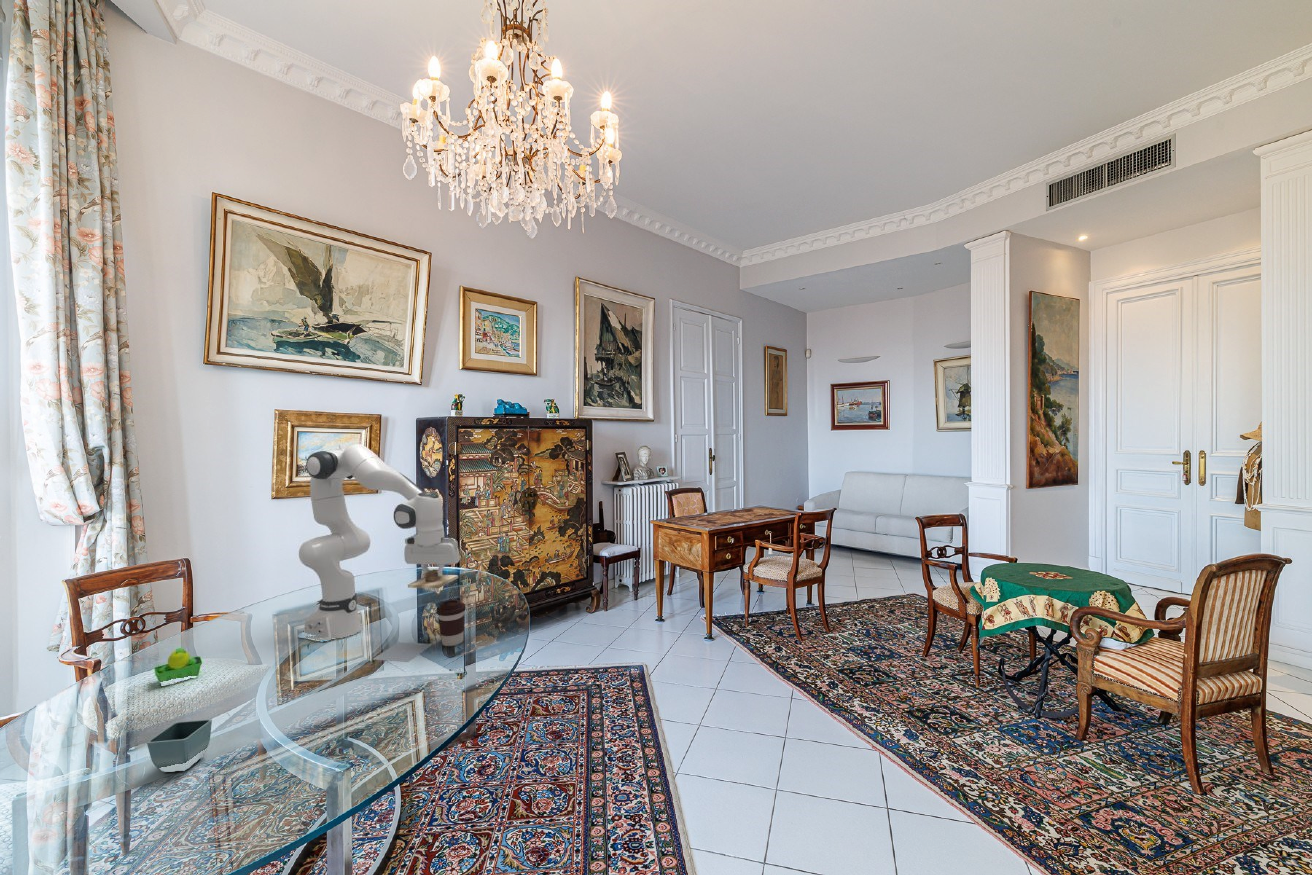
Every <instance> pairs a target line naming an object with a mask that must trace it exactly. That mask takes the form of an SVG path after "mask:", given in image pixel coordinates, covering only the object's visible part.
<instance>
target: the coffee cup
mask: <svg viewBox="0 0 1312 875" xmlns="http://www.w3.org/2000/svg"><path fill="white" fill-rule="evenodd" d="M466 609H467V608H466V604H465V603H464V602H462V601H461V600H459V599H450V600H446V601H443V602H441V603H440V605H439V606H437V607H436V609H435V610H436V615H438V628H439V634H440V638H441V644H442V646H445V647H453V646H456V645H460V644H461V643H463V642H464V632H465V611H466Z"/></svg>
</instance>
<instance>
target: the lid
mask: <svg viewBox="0 0 1312 875" xmlns="http://www.w3.org/2000/svg"><path fill="white" fill-rule="evenodd" d="M436 571H438V569H432V570H431V571H429V572H427V573H424V576H423V577H421V578H419V579H417V580H415V581H413V582H409V584H407V588H408V589H409V588H410V589H411V588H413V589H441V588H442V587H444V586H446V585H448V584H450V583H451V582H453V581H456V580H457V579H459V575H458V574H457V575H456V574H442V576H440V577H439V576H436V574H435V572H436Z"/></svg>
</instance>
